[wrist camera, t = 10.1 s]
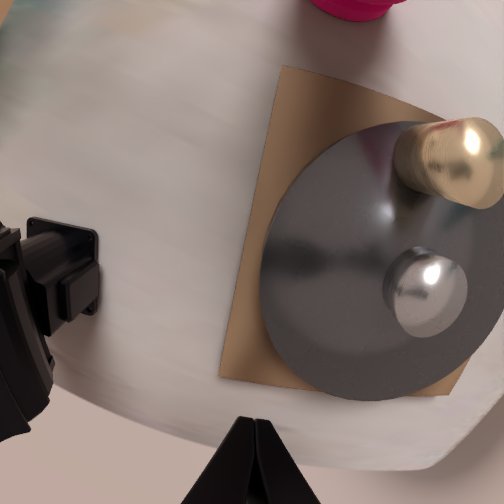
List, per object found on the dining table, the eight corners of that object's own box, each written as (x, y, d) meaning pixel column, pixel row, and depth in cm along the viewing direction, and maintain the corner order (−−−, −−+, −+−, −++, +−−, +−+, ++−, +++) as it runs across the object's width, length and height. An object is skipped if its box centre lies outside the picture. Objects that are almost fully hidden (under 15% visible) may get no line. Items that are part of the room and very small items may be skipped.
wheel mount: (220, 363, 22) (218, 376, 21) (280, 72, 16) (282, 65, 15) (442, 385, 23) (448, 395, 21) (521, 168, 17) (533, 170, 15)
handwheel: (477, 363, 20) (517, 412, 13) (266, 397, 21) (267, 473, 14) (510, 139, 15) (580, 144, 8) (249, 122, 15) (242, 97, 9)
